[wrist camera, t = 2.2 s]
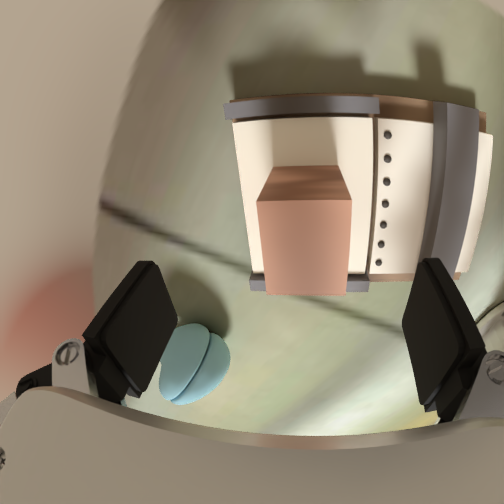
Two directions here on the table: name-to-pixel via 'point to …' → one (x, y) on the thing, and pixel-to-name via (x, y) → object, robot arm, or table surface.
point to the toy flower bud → (192, 364)
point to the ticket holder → (404, 177)
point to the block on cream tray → (306, 199)
